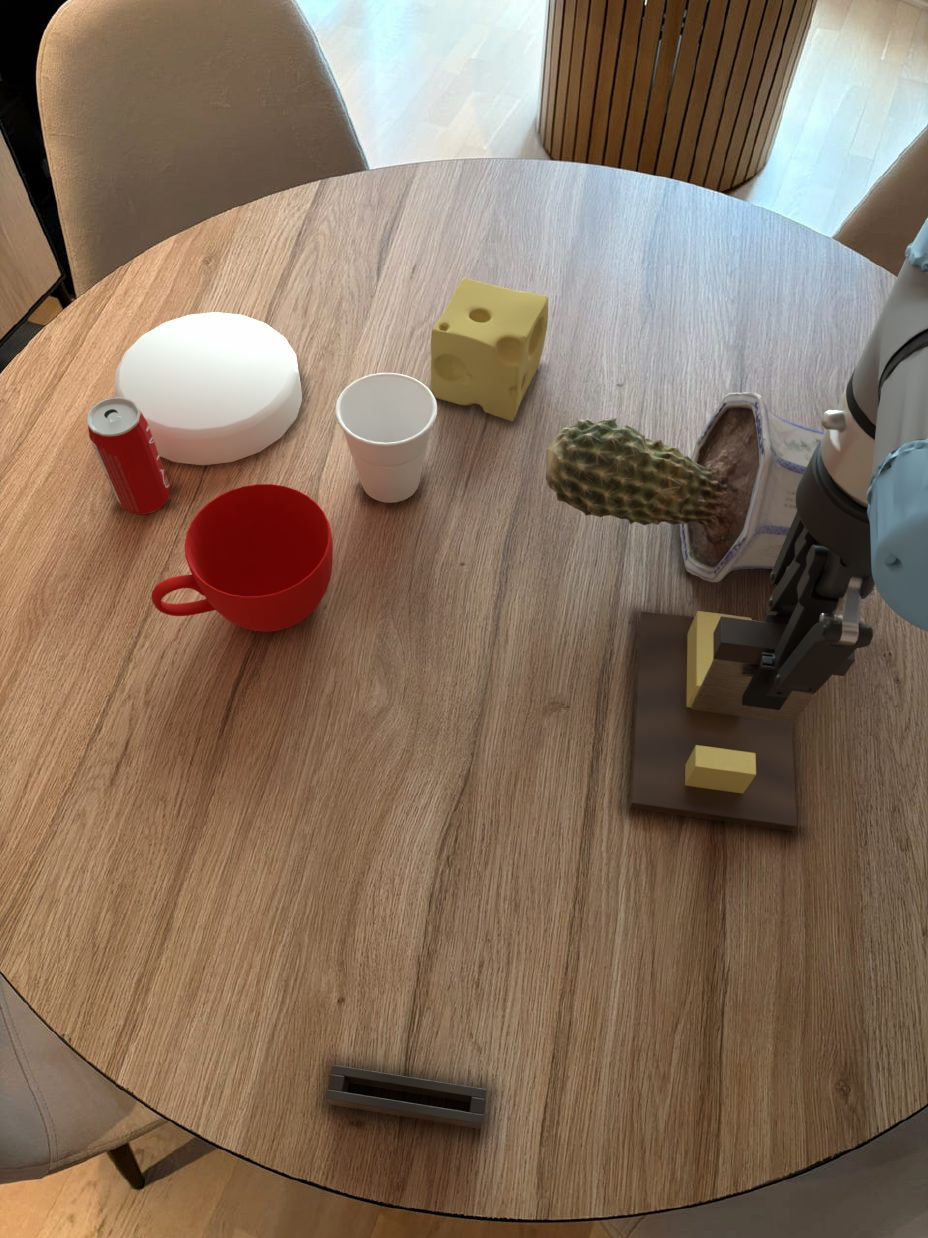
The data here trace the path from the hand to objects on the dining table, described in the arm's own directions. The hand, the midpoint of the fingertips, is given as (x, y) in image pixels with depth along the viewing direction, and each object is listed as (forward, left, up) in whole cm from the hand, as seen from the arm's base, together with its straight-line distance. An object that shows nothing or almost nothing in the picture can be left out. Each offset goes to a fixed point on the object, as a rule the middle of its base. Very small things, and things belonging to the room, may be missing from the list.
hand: (760, 685), depth 70 cm
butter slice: (-1, 0, -15) cm, 15 cm away
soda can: (+23, +59, -16) cm, 65 cm away
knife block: (-29, +22, -16) cm, 40 cm away
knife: (0, 0, -5) cm, 5 cm away
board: (+6, 0, -16) cm, 17 cm away
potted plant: (+26, +3, -16) cm, 31 cm away
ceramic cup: (+11, +44, -16) cm, 48 cm away
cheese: (+46, +26, -16) cm, 55 cm away
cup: (+29, +34, -16) cm, 47 cm away
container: (+38, +56, -16) cm, 69 cm away
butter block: (+10, 0, -15) cm, 18 cm away
